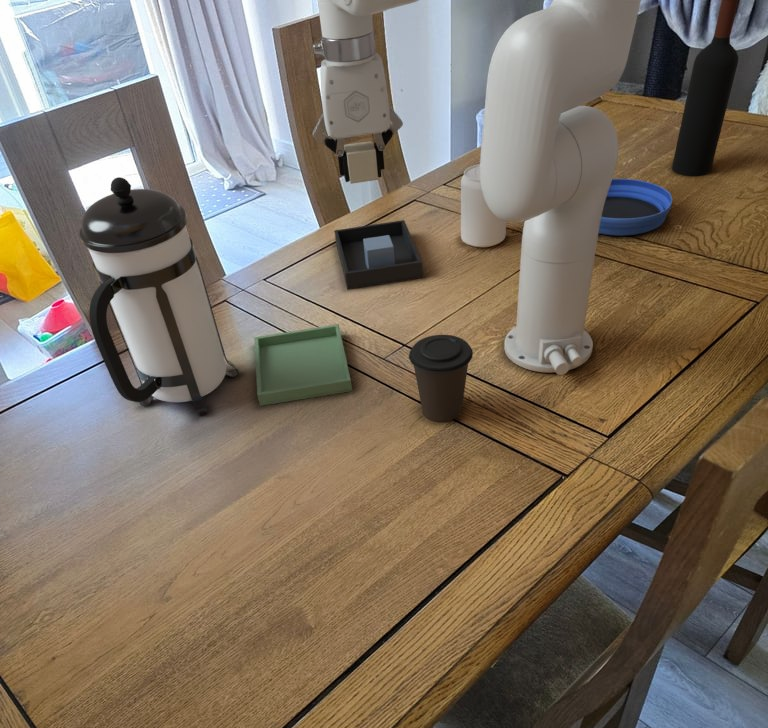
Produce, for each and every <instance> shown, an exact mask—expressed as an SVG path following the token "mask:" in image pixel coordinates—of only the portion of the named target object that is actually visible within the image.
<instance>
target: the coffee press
mask: <svg viewBox="0 0 768 728" xmlns="http://www.w3.org/2000/svg"><path fill="white" fill-rule="evenodd" d="M110 191H111V192H112V194H108V195H106V196H104V197H102V198H99V199H98V200H96V201H95V202H94V203H93V204H92V205H90V206H89V207H88V208H87V209H86V210H85V212H84V214H83V215H82V218H81V227H80V229H79V238H80V240H81V243H82V244H83V245H84V247H85V248H86V249H87V250H88V252H89V254H90V256H91V258H92V266H93V268H94V271H95V273H96V276H97V279H98V281H99V283H100V285H99V286H98V287H97V288H96V290H95V292H94V293H93V295H92V297H91V299H90V304H89V324H90V329H91V332H92V336H93V338H94V341H95V344H96V346H97V348H98V350H99V353H100V356H101V358H102V360H103V362H104V365H105V367H106V369H107V371H108V374H109V376H110V378H111V381H112V383H113V384H114V386H115V388H116V390H117V392H118V393H119V394H120V396H121V397H122V398H123V399H125V400H127V401H130V402H134V403H139V405H140V406H142V407H147V406H150V404H151V403H152V400H153V399H157V400H160V401H163V402H168V403H185V402H186V403H187V402H191V403H192V405H193V407H194V411H195V413H196V415H197V416H201V415H204V414H207V413H208V411H207V409H206V406H205V402H204V401H203V397H204V396H206V395H208V394H210V393H212V392H213V391H214V390H215V389H217V388H218V387H219V386H220V385H221V384H222V382H223V380H224V379H225V376H226V377H227V376H228V377H230V378H236V377H238V375H239V370H238V368H237V366H236V365H235V364H234V363H233V362H231V361H230V360H229V359H227V356H226V352H225V350H224V345H223V343H222V339H221V336H220V333H219V328H218V325H217V322H216V318H215V315H214V311H213V308H212V305H211V301H210V297H209V294H208V290H207V287H206V284H205V280H204V277H203V274H202V269H201V266H200V263H199V260H198V256H197V252H196V249H195V245H194V242H193V239H192V238H191V237H190V236H189V231H188V229H187V224H188V216H187V213H186V210H185V208H183V206H181V205H180V204H178V202H177V201H176V200H175V199H174V198H173V197H172V196H170V195H169V194H167V193H166V192H163V191H160V190H156V189H150V188H133V189H132V184H130V182H129V181H128V180H127V179H126V178H124V177H115V178H114V179H112V180H111V182H110ZM108 307H109V308H110V310H111V313H112V315H113V318H114V321H115V323H116V326H117V327H118V330H119V332H120V335H121V337H122V340H123V342H124V346H125V348H126V350H127V353H128V355H129V357H130V360H131V362H132V365H133V367H134V369H135V372H136V375H137V377H138V380H139V383H140V385H139V386H138V387H135V386H134V385H133V383H132V382H131V380H130V377H129V376H128V373H127V371H126V369H125V366H124V364H123V361H122V359H121V357H120V354H119V352H118V349H117V346H116V345H115V342H114V339H113V337H112V335H111V333H110V329H109V325H108V320H107V318H108V317H107V316H108V315H107V313H108ZM226 364H228V365H229V366H230V367H232V368H233V369H234V370H233V371H228V370H227V365H226Z"/></svg>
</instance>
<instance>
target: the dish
mask: <svg viewBox="0 0 768 728" xmlns="http://www.w3.org/2000/svg"><path fill="white" fill-rule="evenodd" d="M253 338H254V358H255V376H256V377H255V379H256V396H257V400H258V403H259V407H261V406H269V405H274V404H281V403H287V402H292V401H298V400H304V399H305V400H306V399H311V398H318V397H324V396H331V395H337V394H343V393H349V392H353V386H352V379H351V374H350V369H349V365H348V361H347V360H348V359H347V355H346V351H345V347H344V343H343V337H342V333H341V329H340V324H339V323H337V324H336V323H335V324H330V325H323V326H318V327H317V326H316V327H311V328H304V329H298V330H293V331H286V332H278V333H273V334H266V335H260V336H254V337H253Z"/></svg>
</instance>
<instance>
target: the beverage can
mask: <svg viewBox="0 0 768 728" xmlns="http://www.w3.org/2000/svg"><path fill="white" fill-rule="evenodd" d="M506 235H507V222H506V221H503V220H501V219H499V218H498V217H496V216H495V215H494V214H493V213H492V211H491V210H490V209H489V207H488V206H487V204H486V202H485V199H484V196H483V193H482V189H481V183H480V163H479V164H474V165H471V166H469V167H467V168H466V169H464V171H463V175H462V177H461V180H460V238H461V241H462V242H463V243H464V244H466V245H468V246H471V247H474V248H490V247H494V246H496V245H498V244H500V243H501V242H503V241H504V240H505V239H506Z"/></svg>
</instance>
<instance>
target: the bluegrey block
mask: <svg viewBox="0 0 768 728" xmlns="http://www.w3.org/2000/svg"><path fill="white" fill-rule="evenodd" d="M363 242H364V251H365V261H366V266H367V269H369V268H376V267H382V266H389V265H395V260H394V247H393V244H392V241H391V239H390V236H389V235H386V236H379V237H373V238H366V239H363Z"/></svg>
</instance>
